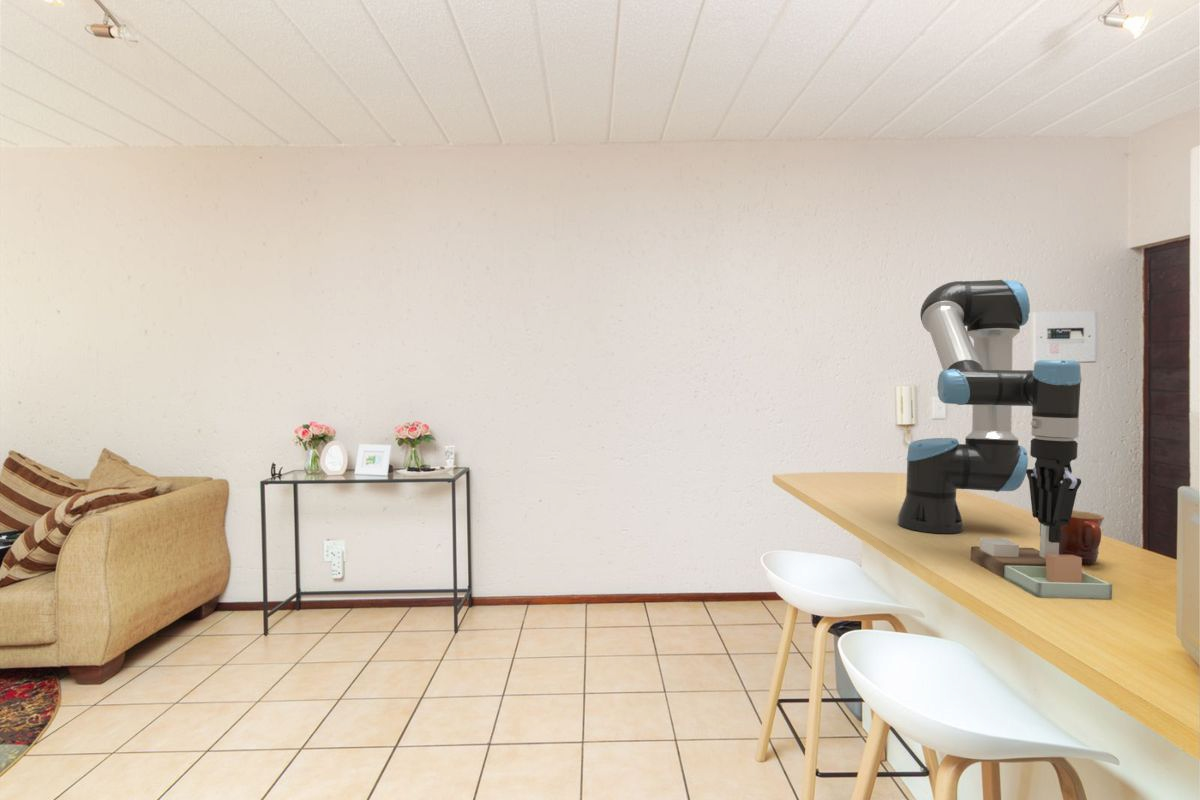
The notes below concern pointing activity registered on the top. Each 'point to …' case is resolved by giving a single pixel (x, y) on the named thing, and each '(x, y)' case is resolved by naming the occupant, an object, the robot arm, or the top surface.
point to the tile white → (999, 547)
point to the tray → (1056, 584)
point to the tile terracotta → (1063, 568)
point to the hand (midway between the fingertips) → (1048, 557)
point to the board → (1007, 559)
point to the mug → (1081, 536)
